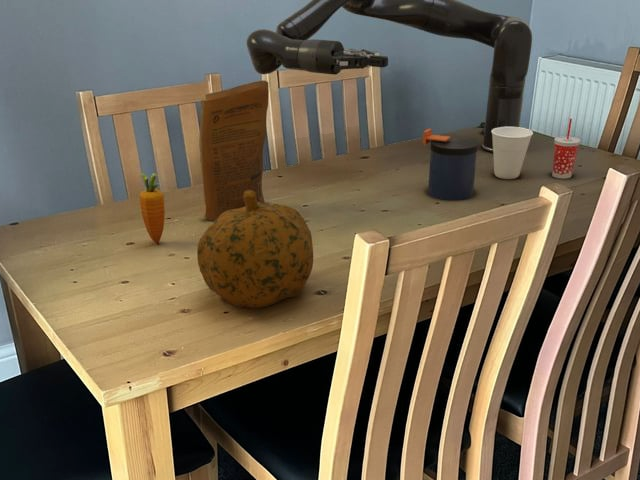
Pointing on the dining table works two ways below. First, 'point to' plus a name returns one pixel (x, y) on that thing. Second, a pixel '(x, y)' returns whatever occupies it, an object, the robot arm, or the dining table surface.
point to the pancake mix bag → (232, 146)
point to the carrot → (152, 208)
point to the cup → (509, 150)
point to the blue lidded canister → (452, 168)
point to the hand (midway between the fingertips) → (386, 62)
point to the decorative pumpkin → (256, 253)
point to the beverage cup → (565, 155)
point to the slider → (433, 137)
